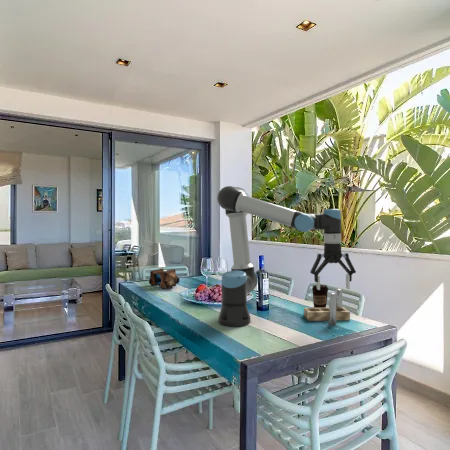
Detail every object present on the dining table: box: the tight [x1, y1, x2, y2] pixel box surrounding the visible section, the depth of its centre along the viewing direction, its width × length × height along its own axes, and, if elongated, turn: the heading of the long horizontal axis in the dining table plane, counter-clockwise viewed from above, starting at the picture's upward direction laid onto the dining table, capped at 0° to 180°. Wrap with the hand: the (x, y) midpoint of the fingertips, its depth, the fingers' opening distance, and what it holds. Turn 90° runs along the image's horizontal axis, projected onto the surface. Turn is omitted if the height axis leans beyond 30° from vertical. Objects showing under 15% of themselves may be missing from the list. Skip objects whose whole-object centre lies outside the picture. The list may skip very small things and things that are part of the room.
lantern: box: [148, 268, 180, 289], centre depth 243 cm, size 16×16×25 cm
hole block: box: [303, 306, 351, 322], centre depth 168 cm, size 20×8×4 cm, turn 91°
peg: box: [328, 292, 337, 326], centre depth 159 cm, size 3×3×14 cm
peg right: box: [335, 288, 343, 311], centre depth 168 cm, size 3×3×14 cm
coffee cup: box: [311, 283, 329, 308], centre depth 182 cm, size 9×8×13 cm
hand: (333, 289), depth 158 cm, fingers open, 13 cm apart
